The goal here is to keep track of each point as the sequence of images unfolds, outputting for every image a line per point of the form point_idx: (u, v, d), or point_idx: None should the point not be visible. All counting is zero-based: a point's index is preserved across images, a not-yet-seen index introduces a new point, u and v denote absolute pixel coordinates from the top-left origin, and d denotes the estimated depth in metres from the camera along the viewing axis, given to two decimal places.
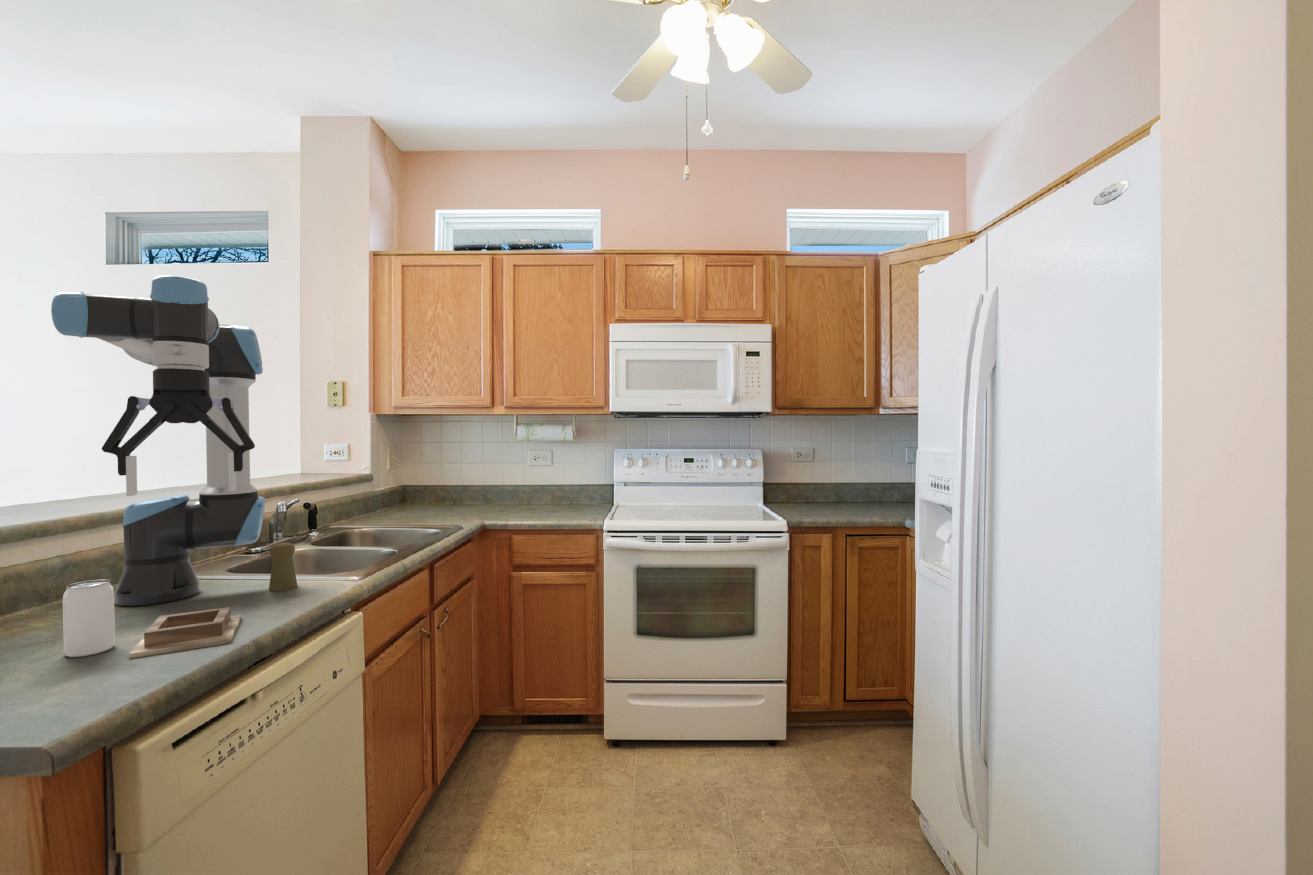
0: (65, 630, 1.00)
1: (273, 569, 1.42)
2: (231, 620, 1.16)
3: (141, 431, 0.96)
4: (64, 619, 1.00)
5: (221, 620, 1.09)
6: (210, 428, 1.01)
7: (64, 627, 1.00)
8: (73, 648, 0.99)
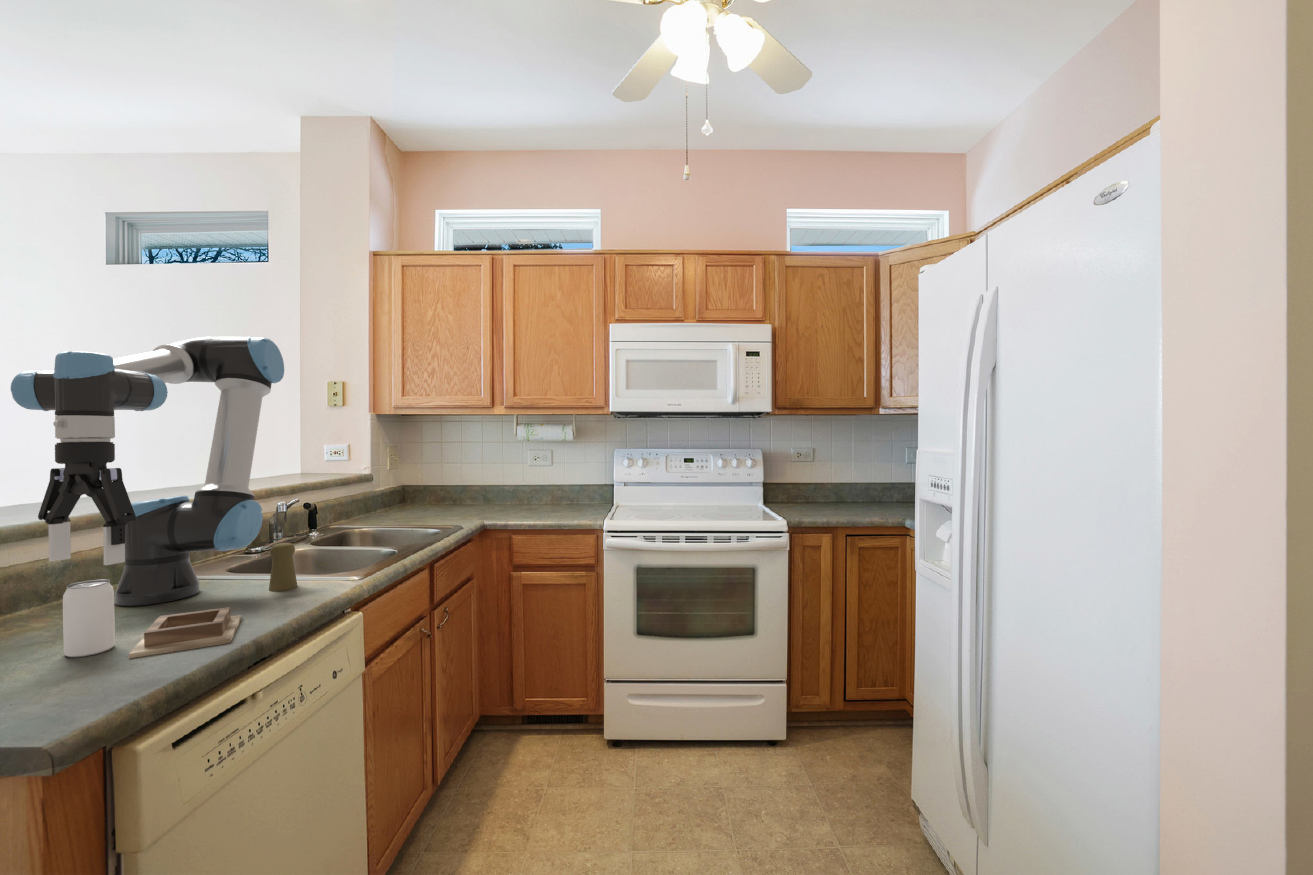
0: (65, 630, 1.00)
1: (273, 569, 1.42)
2: (231, 620, 1.16)
3: (57, 501, 1.02)
4: (64, 619, 1.00)
5: (221, 620, 1.09)
6: (94, 500, 1.00)
7: (64, 627, 1.00)
8: (73, 648, 0.99)
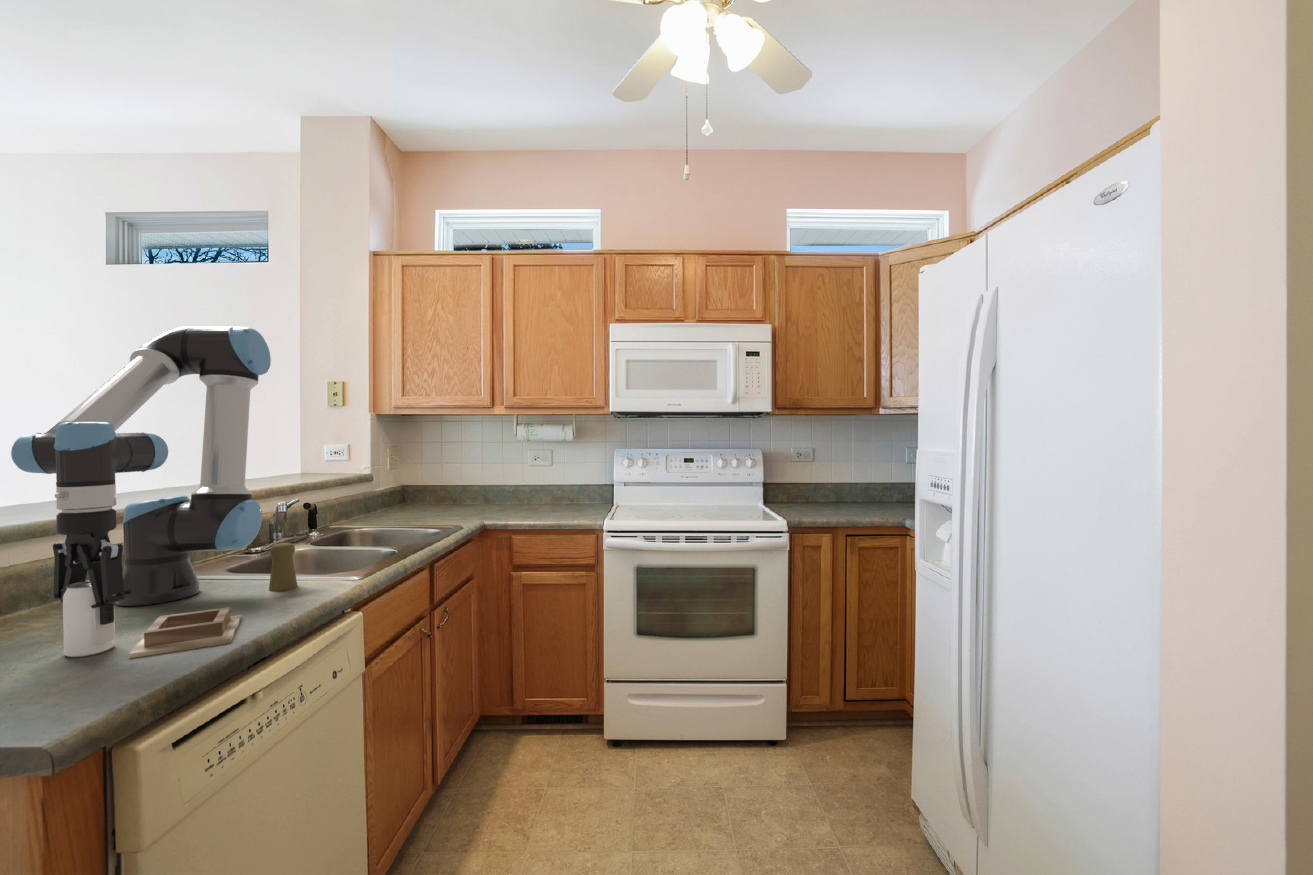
0: (65, 630, 1.00)
1: (273, 569, 1.42)
2: (231, 620, 1.16)
3: (66, 577, 1.02)
4: (64, 619, 1.00)
5: (221, 620, 1.09)
6: (89, 574, 1.01)
7: (64, 627, 1.00)
8: (73, 648, 0.99)
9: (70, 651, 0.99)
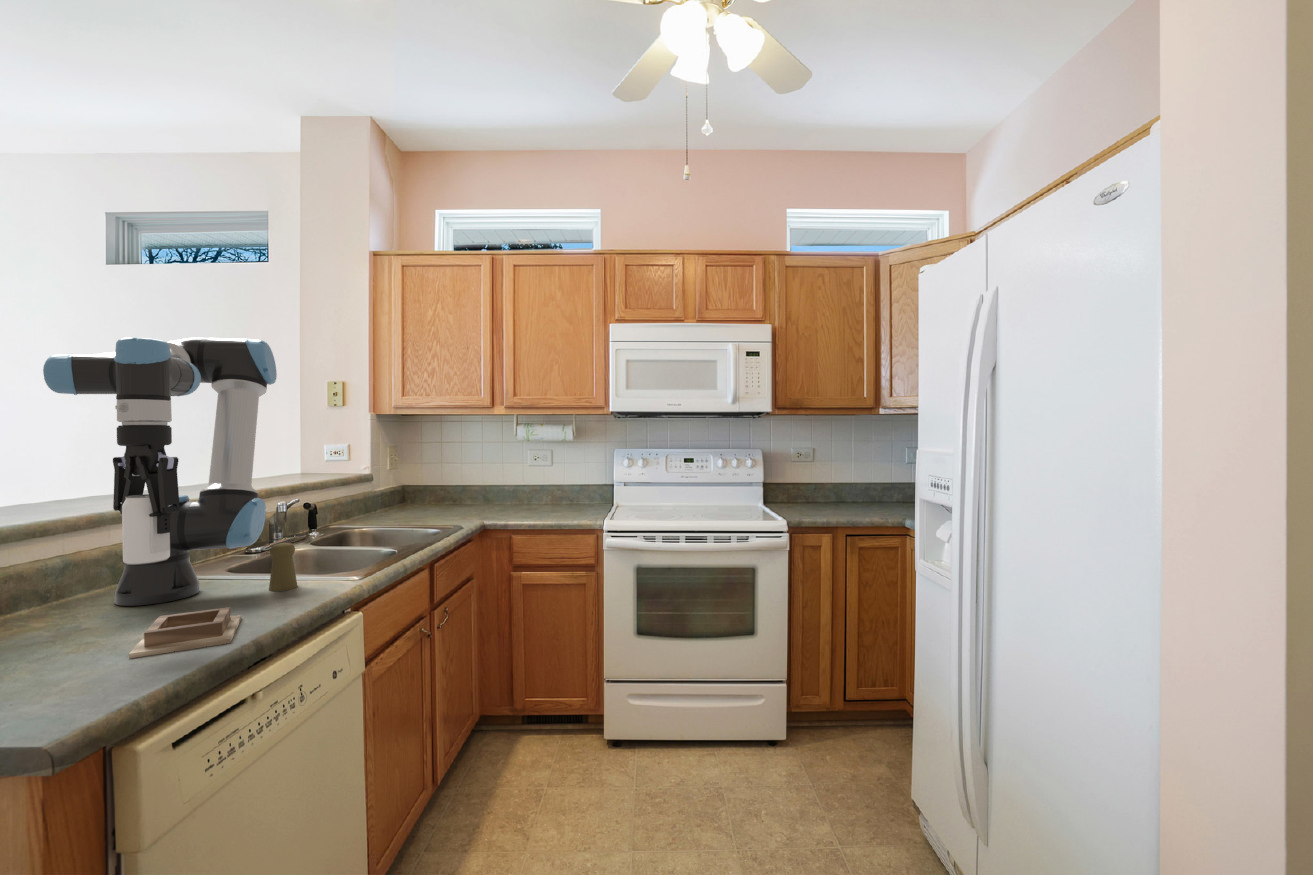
0: (124, 538, 1.03)
1: (273, 569, 1.42)
2: (231, 620, 1.16)
3: (125, 489, 1.06)
4: (123, 527, 1.03)
5: (221, 620, 1.09)
6: (147, 484, 1.04)
7: (123, 535, 1.03)
8: (131, 555, 1.03)
9: (129, 558, 1.03)
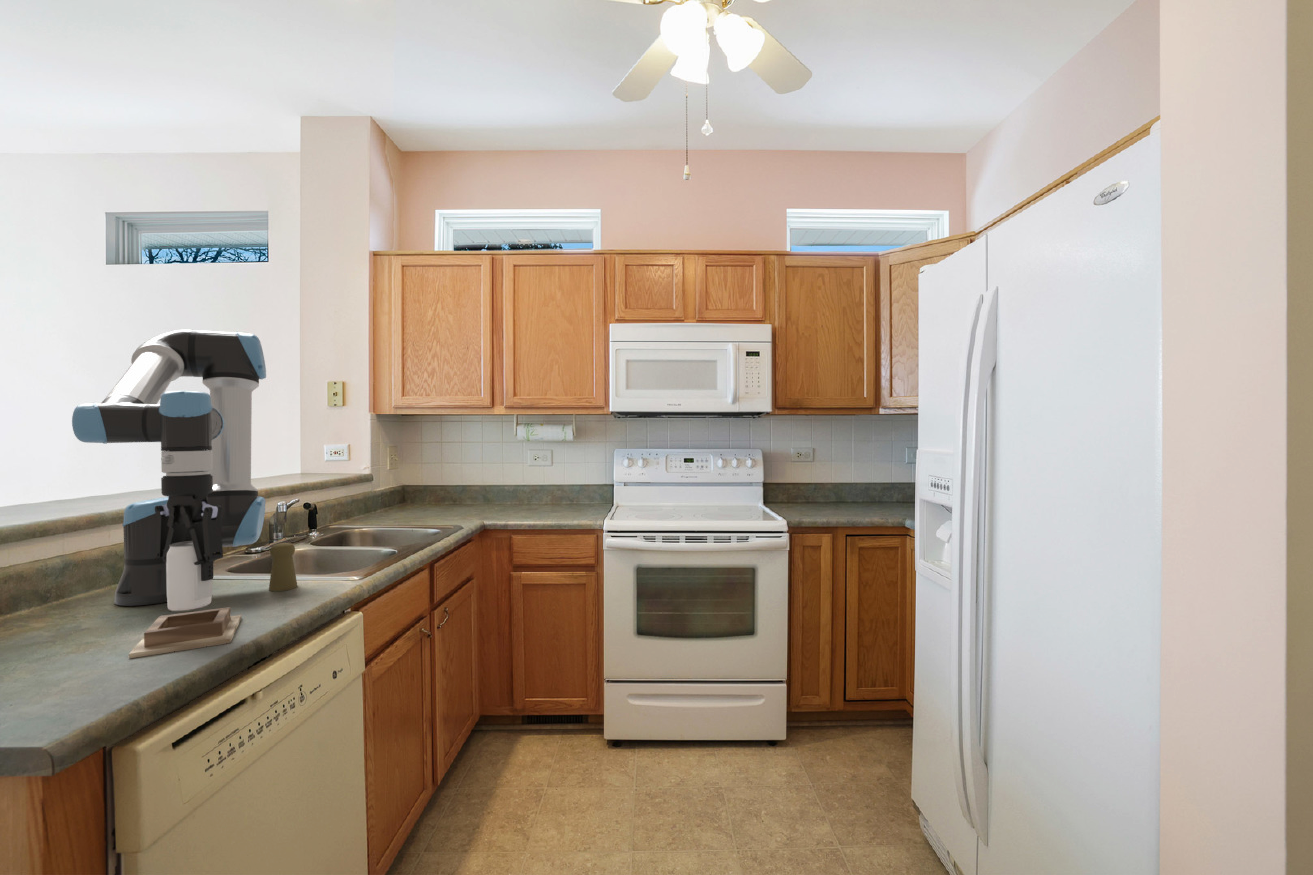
0: (169, 586, 1.06)
1: (273, 569, 1.42)
2: (231, 620, 1.16)
3: (168, 537, 1.09)
4: (168, 575, 1.06)
5: (221, 620, 1.09)
6: (191, 533, 1.08)
7: (168, 583, 1.07)
8: (177, 602, 1.06)
9: (174, 605, 1.06)
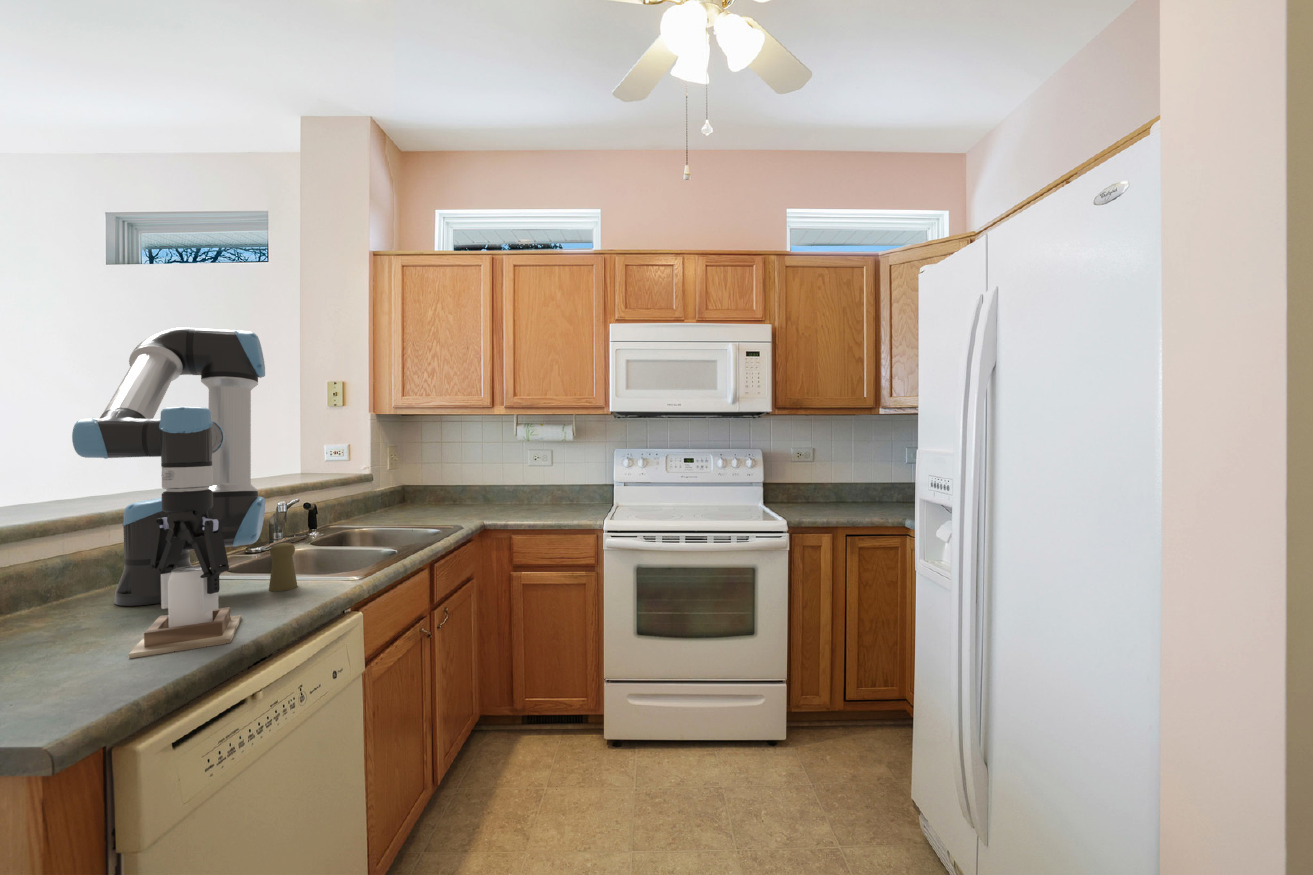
0: (171, 611, 1.07)
1: (273, 569, 1.42)
2: (231, 620, 1.16)
3: (165, 550, 1.09)
4: (170, 601, 1.07)
5: (221, 620, 1.09)
6: (194, 548, 1.07)
7: (170, 608, 1.07)
8: None
9: None
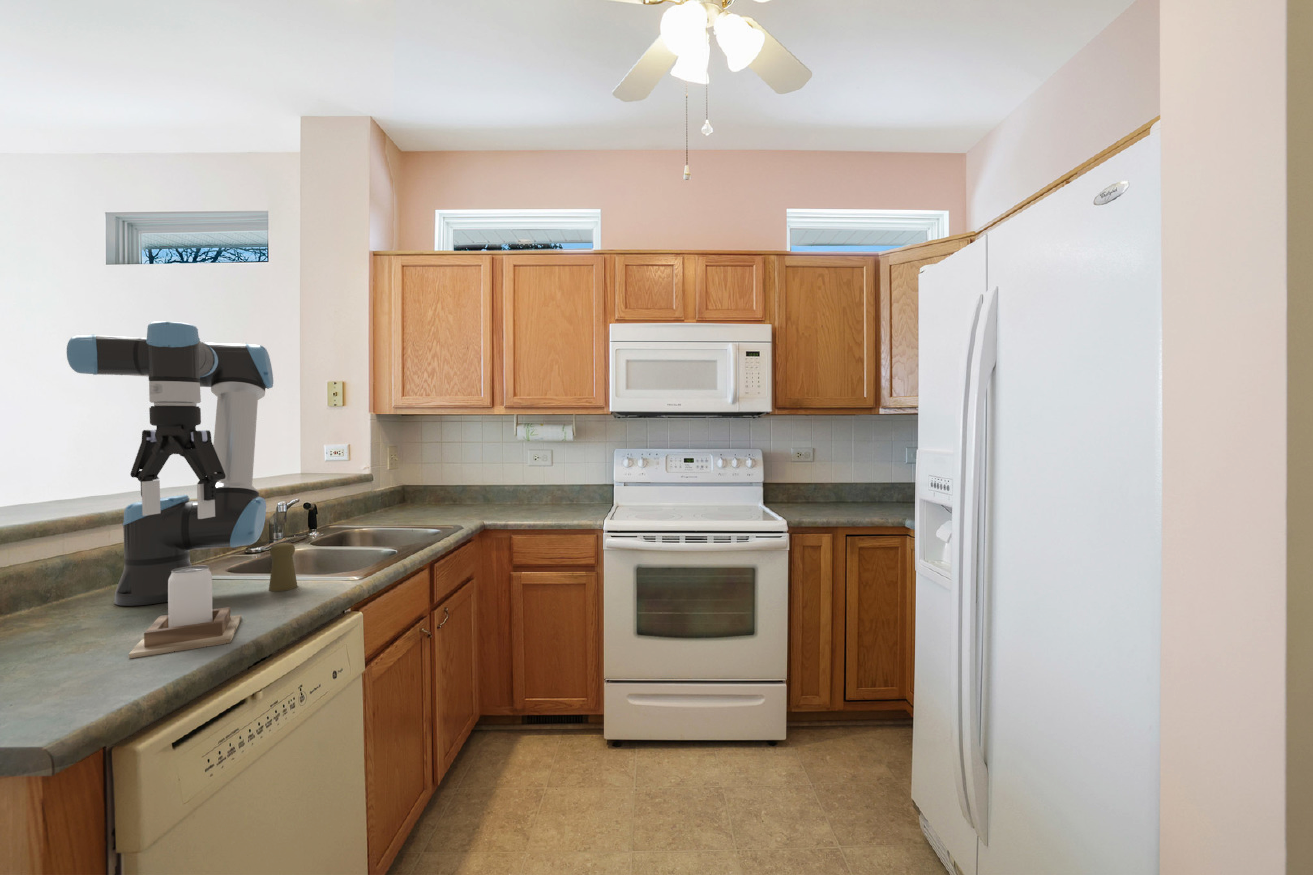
0: (171, 612, 1.06)
1: (273, 569, 1.42)
2: (231, 620, 1.16)
3: (149, 460, 1.11)
4: (170, 601, 1.07)
5: (221, 620, 1.09)
6: (186, 459, 1.09)
7: (170, 609, 1.07)
8: None
9: None
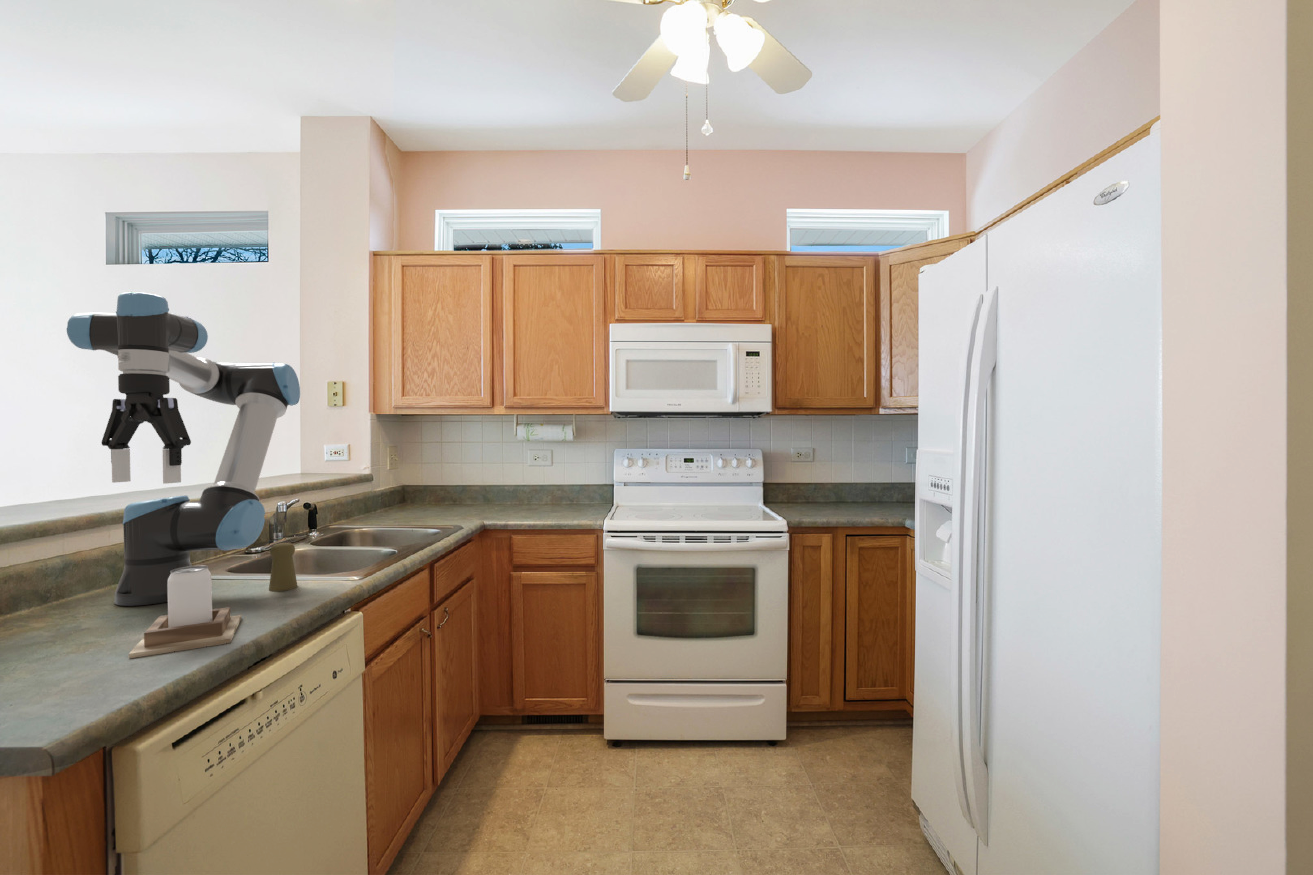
0: (170, 612, 1.06)
1: (273, 569, 1.42)
2: (231, 620, 1.16)
3: (119, 428, 1.14)
4: (169, 602, 1.07)
5: (221, 620, 1.09)
6: (153, 425, 1.12)
7: (169, 609, 1.07)
8: None
9: None
